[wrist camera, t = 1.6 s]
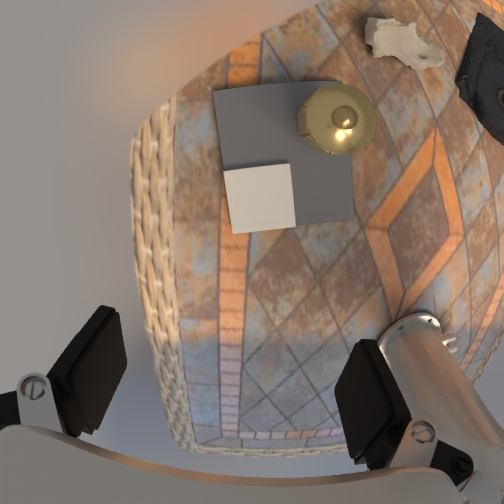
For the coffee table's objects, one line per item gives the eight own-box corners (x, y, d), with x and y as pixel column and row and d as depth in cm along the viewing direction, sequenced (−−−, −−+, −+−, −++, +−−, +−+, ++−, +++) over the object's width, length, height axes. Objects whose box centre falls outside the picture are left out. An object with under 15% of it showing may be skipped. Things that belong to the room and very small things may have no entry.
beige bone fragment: (434, 76, 24) (453, 71, 20) (363, 61, 25) (378, 51, 21) (427, 39, 22) (445, 31, 18) (358, 22, 23) (370, 9, 19)
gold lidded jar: (353, 93, 23) (375, 83, 18) (359, 150, 25) (383, 153, 20) (294, 94, 23) (303, 82, 18) (301, 154, 26) (313, 156, 20)
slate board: (339, 82, 26) (341, 81, 25) (351, 217, 32) (354, 219, 31) (214, 93, 27) (212, 91, 26) (234, 229, 33) (233, 232, 32)
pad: (289, 163, 29) (289, 163, 28) (295, 225, 31) (295, 226, 31) (223, 171, 29) (223, 171, 29) (233, 232, 32) (232, 234, 31)
